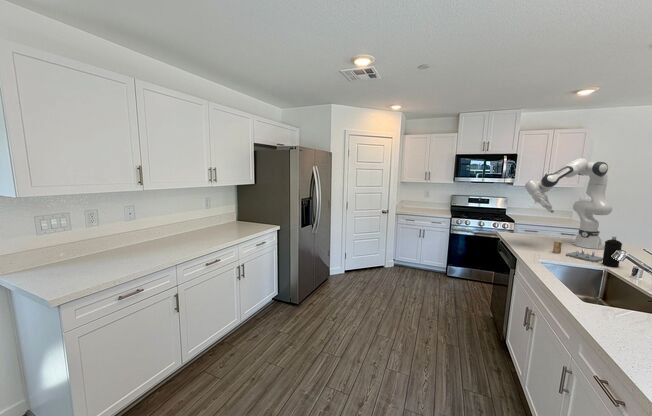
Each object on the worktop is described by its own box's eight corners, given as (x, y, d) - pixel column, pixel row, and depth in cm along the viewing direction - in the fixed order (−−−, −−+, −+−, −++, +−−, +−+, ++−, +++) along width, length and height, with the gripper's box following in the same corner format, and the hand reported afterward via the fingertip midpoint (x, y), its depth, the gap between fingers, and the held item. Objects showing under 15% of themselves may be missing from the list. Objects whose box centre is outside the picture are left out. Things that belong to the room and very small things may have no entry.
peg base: (575, 253, 208) (576, 247, 208) (604, 260, 193) (605, 253, 192) (565, 255, 203) (566, 249, 202) (595, 262, 187) (596, 255, 187)
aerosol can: (616, 268, 176) (620, 238, 174) (599, 264, 183) (603, 236, 181) (621, 266, 180) (625, 237, 177) (604, 262, 187) (608, 234, 185)
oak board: (556, 252, 212) (557, 241, 211) (560, 253, 210) (562, 241, 209) (552, 252, 210) (553, 241, 209) (557, 253, 208) (558, 242, 207)
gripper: (541, 193, 212) (553, 208, 205) (547, 197, 225) (558, 211, 219) (533, 198, 215) (544, 212, 209) (539, 201, 229) (550, 215, 222)
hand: (551, 212), depth 214 cm, fingers open, 8 cm apart
